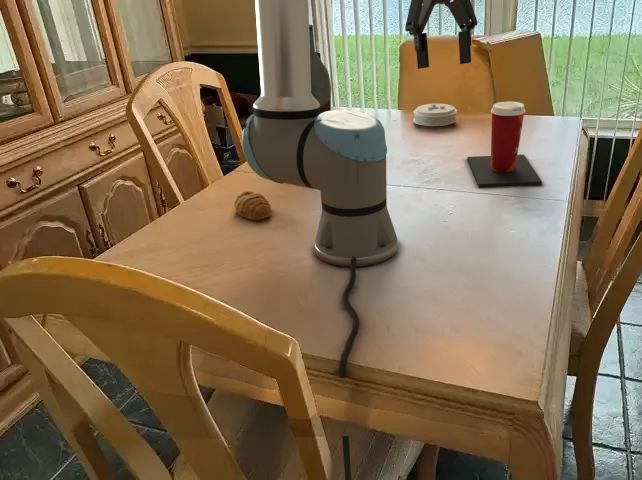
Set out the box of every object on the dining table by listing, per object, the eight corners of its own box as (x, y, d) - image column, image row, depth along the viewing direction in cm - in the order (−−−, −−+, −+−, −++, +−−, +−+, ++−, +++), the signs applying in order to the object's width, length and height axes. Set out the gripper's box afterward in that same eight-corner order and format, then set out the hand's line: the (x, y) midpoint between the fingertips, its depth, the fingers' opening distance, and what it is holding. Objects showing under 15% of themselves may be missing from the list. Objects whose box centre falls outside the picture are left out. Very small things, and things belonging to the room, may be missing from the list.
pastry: (280, 216, 129) (278, 198, 127) (251, 225, 126) (248, 207, 124) (259, 204, 136) (257, 187, 133) (231, 212, 133) (228, 194, 130)
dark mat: (541, 185, 137) (542, 181, 137) (478, 187, 138) (478, 184, 137) (523, 157, 153) (523, 154, 153) (467, 159, 154) (467, 156, 153)
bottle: (295, 161, 159) (281, 28, 141) (306, 150, 166) (294, 23, 148) (330, 162, 157) (321, 27, 139) (339, 151, 164) (331, 22, 146)
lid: (434, 115, 189) (435, 98, 186) (465, 123, 181) (466, 104, 178) (404, 124, 183) (404, 106, 180) (435, 132, 175) (435, 113, 172)
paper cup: (526, 170, 143) (533, 106, 135) (497, 175, 141) (503, 110, 133) (507, 161, 149) (513, 99, 141) (479, 166, 147) (484, 103, 138)
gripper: (464, -43, 137) (469, 63, 146) (381, -45, 124) (392, 72, 133) (491, -52, 132) (494, 59, 141) (407, -55, 118) (416, 67, 127)
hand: (445, 65), depth 137 cm, fingers open, 13 cm apart
